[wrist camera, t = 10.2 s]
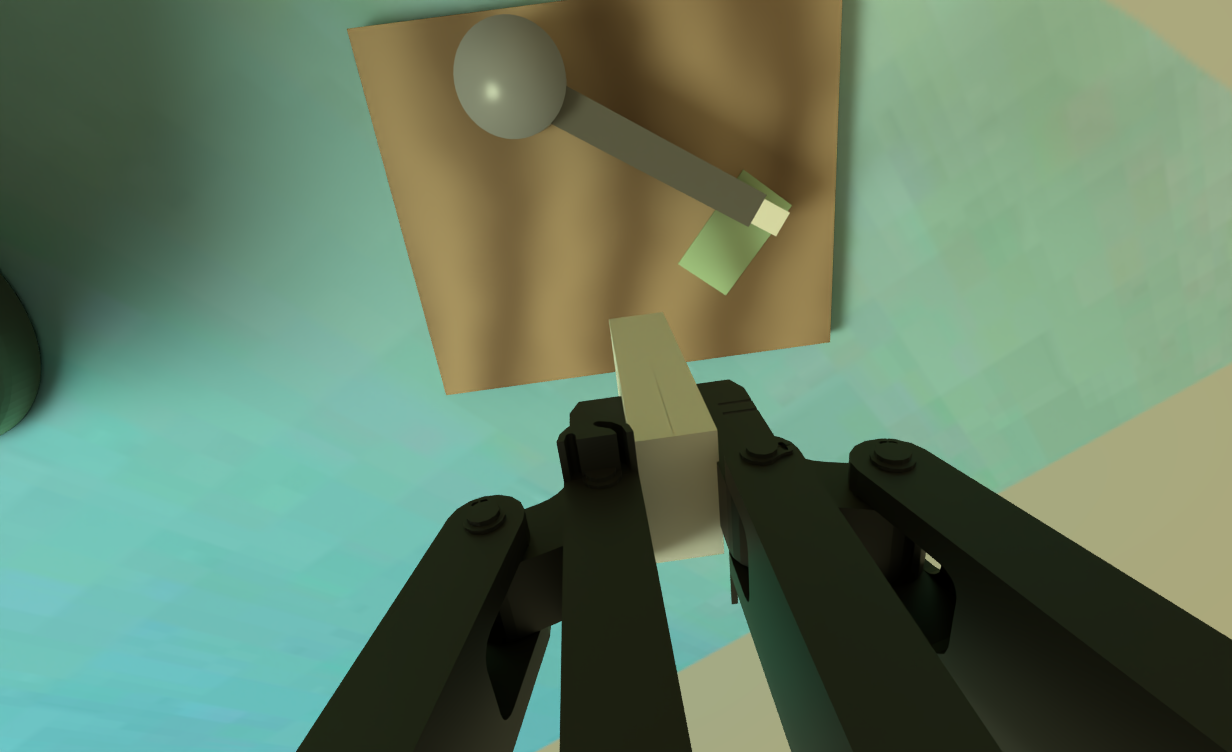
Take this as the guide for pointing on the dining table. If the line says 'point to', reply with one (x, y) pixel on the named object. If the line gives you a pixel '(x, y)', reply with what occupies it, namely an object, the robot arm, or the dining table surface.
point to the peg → (582, 116)
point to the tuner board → (614, 185)
